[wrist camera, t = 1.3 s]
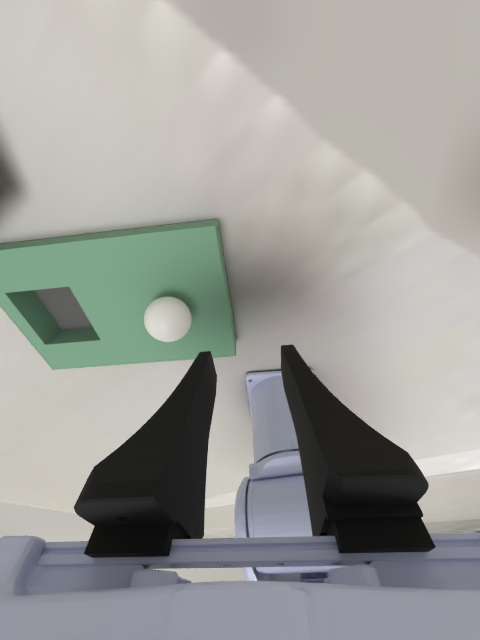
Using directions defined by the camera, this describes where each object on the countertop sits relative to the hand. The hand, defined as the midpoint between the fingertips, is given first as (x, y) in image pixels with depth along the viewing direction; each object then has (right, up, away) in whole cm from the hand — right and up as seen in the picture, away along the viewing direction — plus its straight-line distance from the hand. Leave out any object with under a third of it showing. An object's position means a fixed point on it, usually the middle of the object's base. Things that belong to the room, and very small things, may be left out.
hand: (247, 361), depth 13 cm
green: (-11, +4, +8) cm, 14 cm away
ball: (-6, +2, +5) cm, 8 cm away
